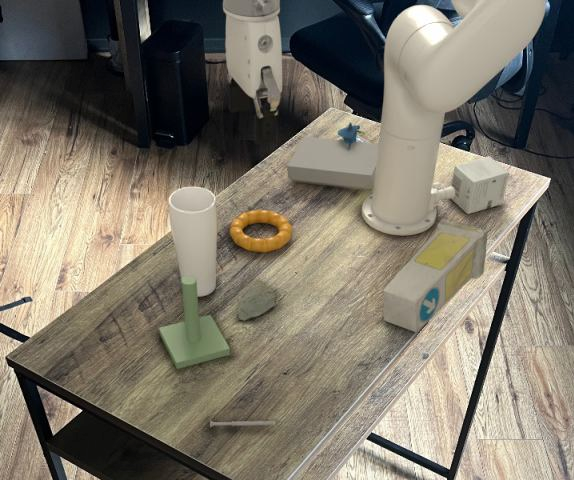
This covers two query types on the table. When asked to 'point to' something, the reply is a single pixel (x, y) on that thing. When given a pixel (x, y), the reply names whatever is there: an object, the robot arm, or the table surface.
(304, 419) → the table surface
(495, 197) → the product carton
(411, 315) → the toppled traffic bollard
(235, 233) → the ring
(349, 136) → the toy figurine
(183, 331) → the rack
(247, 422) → the wall anchor
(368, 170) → the flat grey box
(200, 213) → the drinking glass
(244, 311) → the rock
